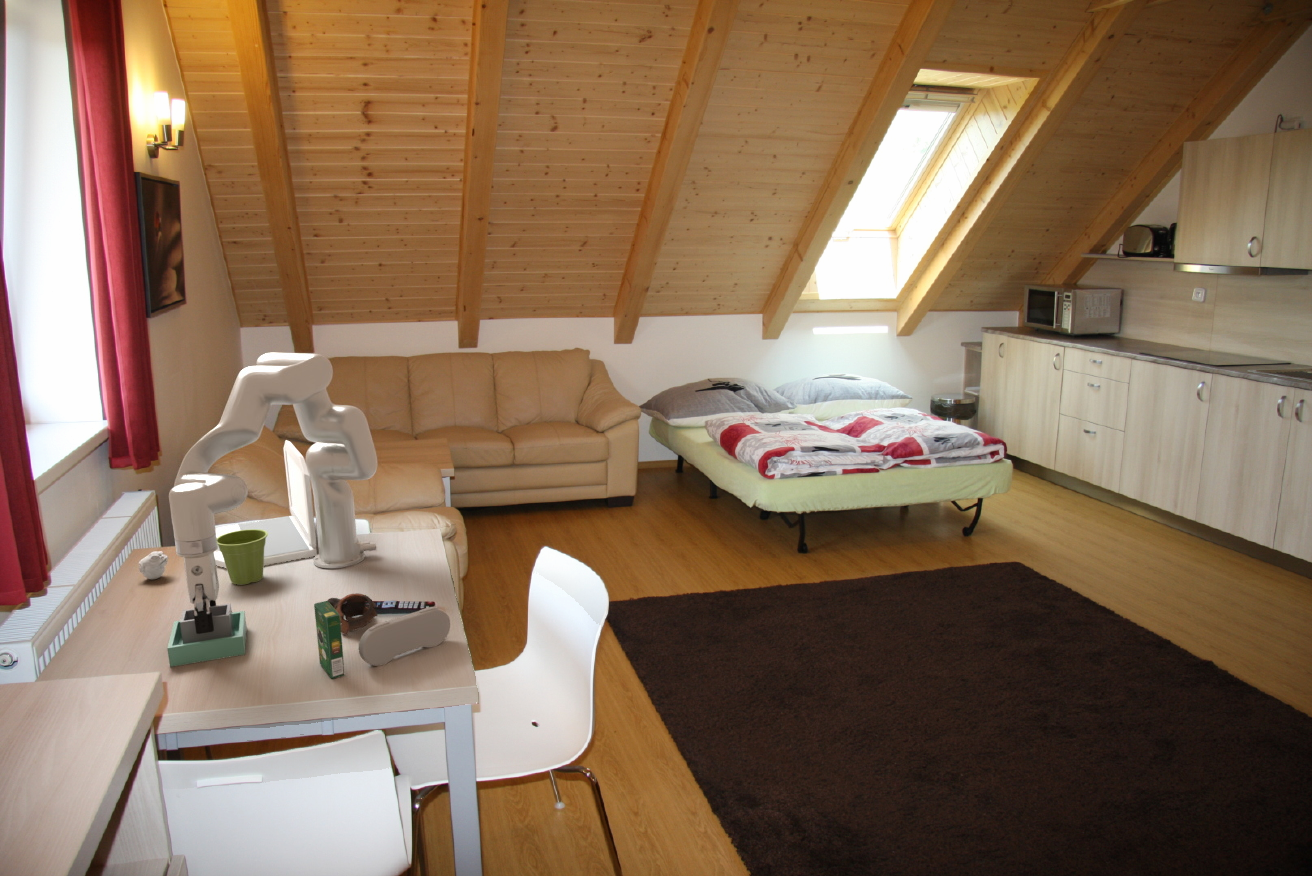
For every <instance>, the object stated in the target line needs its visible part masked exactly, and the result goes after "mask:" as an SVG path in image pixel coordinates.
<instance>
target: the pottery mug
mask: <svg viewBox="0 0 1312 876" xmlns="http://www.w3.org/2000/svg"><path fill="white" fill-rule="evenodd" d="M326 601H328V602H329V603H330V604H331V605H332V606H333V608H334V609H335V610H336V611H337V612H338V613H339V614H340V622H341V634H343V635H348V634H349V632H353V631H356V630H358V629H360V628H364V627H366V626H367V625H368V623H369V624H370V623H371V622H372V620H373V619H374V618H375V617H377V616H378V615H379V614H377V611H376V610H375V607H376V606H377V604H376V603H375V602H374V601H373V599H372V598H371V597H370V596H368V595H366V594H363V593H351V594H348V595H346V596H344V597H342V598H341V599H340V598H337V597H330V598H328V599H326ZM366 602H367V603H368V607H367V606H365V605H366Z"/></svg>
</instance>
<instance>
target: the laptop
mask: <svg viewBox="0 0 1312 876" xmlns="http://www.w3.org/2000/svg"><path fill="white" fill-rule="evenodd" d="M282 451H283V457H284V466H285V467H284V468H285V476H286V485H287V494H288V495H287V496H288V504H289V512H290V515H286V516H279V517H275V518H267V519H262V520H254V521H248V522H242V523H238V524H232V525H226V526H220V527H216V528H215V529H216V537H219V536H221V535H223V534H226V533H230V532H234V531H239V530H248V529H259V530H265V531H266V532H267V533H268V535H267V537H266V541H265V546H264V564H263V567H265V565H266V566H270V565H269V564H271V565H274V564H273V563H277V564H280V563H279V562H282V563H286V561H288V562H292V561H291V560H294V561H297V560H296V559H299V560H302V559H301V558H305V559H309V557H310V558H314V557H313V556H316V555H317V554H318V552H317V548H316V547H317V535H316V528H315V527H316V526H315V516H314V515H315V513H314V507H313V506H314V504H313V496H312V484H311V480H310V476H309V473H308V470H307V467H306V458H305V457H304V456H303V455H302V454H301V452H300V450H298V449H297V448H296V447H295V445H294V444H293V443H292V441H289V440H287V439H286V440H285V441H284V445H283V450H282ZM255 521H257V522H255ZM258 521H259V522H258ZM217 545H218V544H217ZM214 557H215V563H216V565H217V566H216V567H218V566H223V567H226V564H225V561H224V558H223V555H222V552H221V551H220V549H219V546H218V549H217V550H216V551H215V552H214ZM226 568H227V567H226Z"/></svg>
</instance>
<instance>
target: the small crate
mask: <svg viewBox="0 0 1312 876" xmlns="http://www.w3.org/2000/svg"><path fill="white" fill-rule="evenodd" d="M232 611H233V610H232V605H231V603H226V604H225V603H223V604H219V605H217V604H216V606H210V612H212V618H213V626H214V631H213V632H208V633H202V634H197V633H196V628H195V620H194V608H191V609H190V608H189V609H183V610H182V613H181V617H180V620H179V621H180V626H181V633H182V640H183V644H187V643H193V642H200V641H206V640H212V639H219V638H225V637H231V636H234V626H233V618H232V613H233V612H232Z"/></svg>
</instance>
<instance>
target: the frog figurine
mask: <svg viewBox="0 0 1312 876" xmlns="http://www.w3.org/2000/svg"><path fill="white" fill-rule="evenodd" d="M168 559H169V556H168V555H166V554H164V552H163V551H162V550H158V551H157V550H156V551H155V550H154V551H152V552H150V553H149V554H148V555H146V556H145V557H143V558H142V559H141V560H139V561H138V569H139V572H140V573H141V574H142V575H143V577H145V578H146V579H147V580H156V579H159V578H161V577H162V576H163V575H164V573H165V571H166V570H165V568H166V566H167V564H168Z"/></svg>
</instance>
